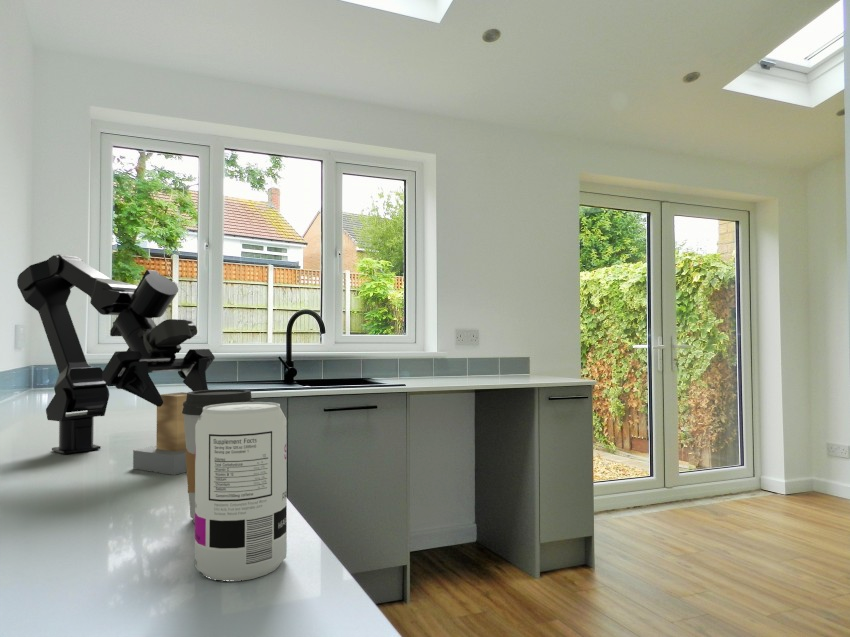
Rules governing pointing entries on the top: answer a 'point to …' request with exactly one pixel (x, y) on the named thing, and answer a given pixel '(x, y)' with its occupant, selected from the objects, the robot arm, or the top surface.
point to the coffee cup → (191, 416)
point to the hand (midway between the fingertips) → (185, 401)
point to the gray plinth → (159, 460)
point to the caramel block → (171, 422)
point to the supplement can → (240, 490)
